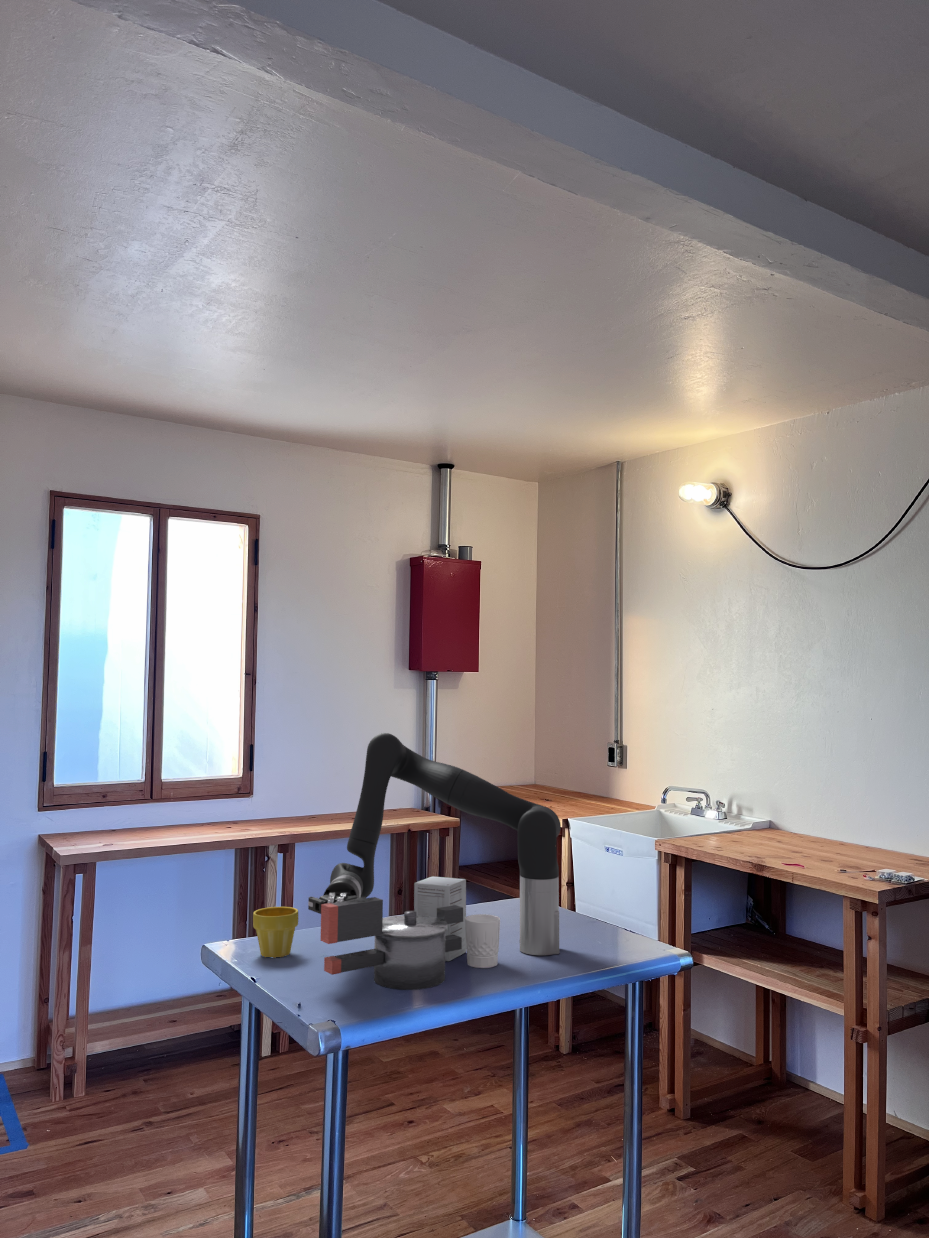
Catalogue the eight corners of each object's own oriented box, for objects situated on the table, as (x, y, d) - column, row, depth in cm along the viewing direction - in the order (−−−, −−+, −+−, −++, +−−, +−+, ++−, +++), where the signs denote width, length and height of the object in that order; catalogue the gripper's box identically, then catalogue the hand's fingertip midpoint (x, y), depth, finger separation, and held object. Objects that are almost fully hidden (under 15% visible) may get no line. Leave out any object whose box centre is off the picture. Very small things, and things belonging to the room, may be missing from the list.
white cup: (488, 971, 199) (488, 924, 200) (458, 965, 203) (458, 919, 204) (506, 962, 205) (506, 917, 206) (476, 957, 209) (476, 912, 210)
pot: (462, 967, 202) (462, 920, 202) (455, 1001, 179) (456, 948, 180) (342, 964, 203) (343, 918, 204) (320, 997, 180) (322, 945, 181)
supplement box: (467, 952, 214) (468, 878, 215) (449, 962, 205) (450, 885, 207) (431, 947, 218) (432, 875, 219) (412, 956, 210) (413, 881, 211)
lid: (438, 913, 208) (438, 880, 208) (481, 927, 195) (481, 892, 196) (306, 934, 188) (307, 898, 189) (343, 951, 175) (344, 913, 176)
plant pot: (242, 954, 210) (244, 910, 211) (280, 945, 218) (281, 903, 219) (269, 963, 203) (270, 918, 204) (306, 954, 211) (307, 910, 212)
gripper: (313, 877, 203) (299, 893, 186) (372, 877, 203) (364, 894, 186) (312, 912, 202) (298, 931, 185) (372, 912, 202) (363, 932, 185)
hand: (331, 913), depth 185 cm, fingers closed
